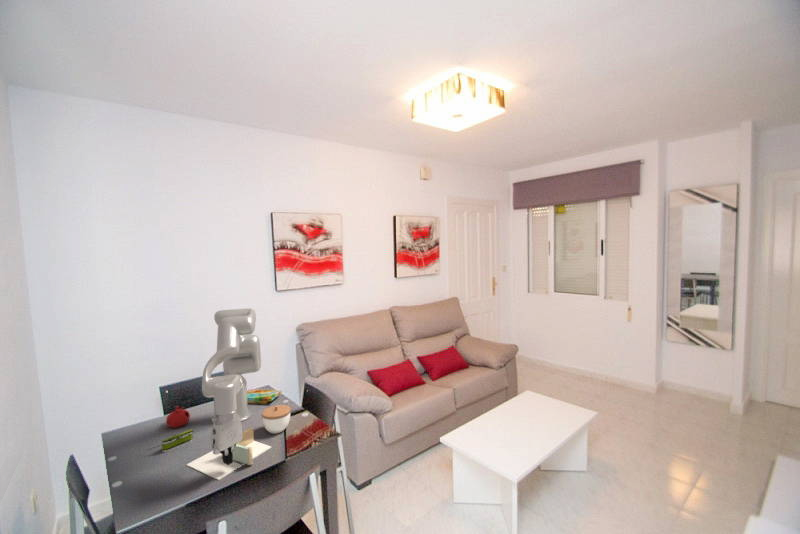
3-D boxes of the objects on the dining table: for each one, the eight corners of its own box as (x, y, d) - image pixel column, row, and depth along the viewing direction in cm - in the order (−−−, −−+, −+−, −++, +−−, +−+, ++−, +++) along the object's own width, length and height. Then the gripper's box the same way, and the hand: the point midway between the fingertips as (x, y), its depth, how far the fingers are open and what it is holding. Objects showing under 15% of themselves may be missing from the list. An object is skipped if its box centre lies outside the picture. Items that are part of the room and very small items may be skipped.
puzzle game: (249, 388, 205) (281, 388, 203) (249, 396, 205) (281, 396, 203) (237, 396, 194) (271, 397, 191) (237, 404, 194) (271, 405, 191)
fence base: (221, 457, 141) (220, 439, 141) (251, 440, 154) (250, 423, 153) (224, 458, 140) (223, 440, 140) (254, 441, 153) (253, 424, 152)
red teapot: (170, 432, 164) (168, 413, 163) (163, 425, 171) (162, 407, 170) (193, 424, 172) (192, 405, 171) (186, 417, 178) (184, 400, 177)
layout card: (186, 465, 137) (186, 464, 137) (240, 436, 158) (240, 435, 158) (218, 480, 127) (218, 478, 127) (271, 447, 148) (271, 446, 148)
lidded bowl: (295, 423, 169) (294, 401, 169) (284, 437, 157) (283, 412, 156) (270, 422, 171) (269, 400, 170) (257, 436, 158) (256, 412, 158)
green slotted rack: (197, 430, 154) (187, 420, 160) (146, 450, 139) (138, 438, 145) (196, 445, 155) (187, 434, 161) (146, 466, 140) (137, 453, 146)
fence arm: (250, 465, 135) (249, 449, 135) (225, 458, 140) (224, 442, 140) (253, 463, 136) (253, 447, 136) (228, 456, 142) (228, 440, 141)
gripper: (213, 426, 123) (215, 477, 124) (249, 409, 136) (251, 455, 137) (200, 422, 126) (202, 471, 127) (237, 405, 140) (238, 450, 140)
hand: (228, 462), depth 132 cm, fingers closed
